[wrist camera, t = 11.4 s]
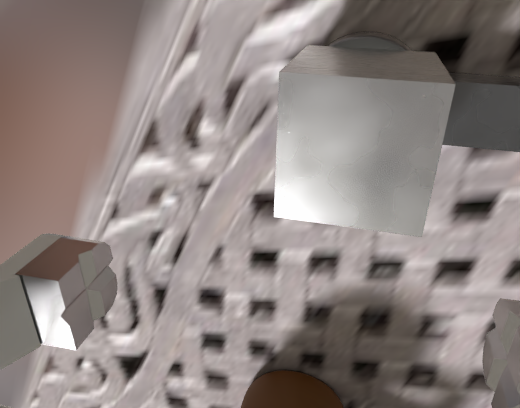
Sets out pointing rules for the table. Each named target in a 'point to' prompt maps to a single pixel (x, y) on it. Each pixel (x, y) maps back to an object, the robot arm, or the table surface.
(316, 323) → the table surface
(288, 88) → the silver metal block
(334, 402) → the mug
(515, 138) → the ratchet
